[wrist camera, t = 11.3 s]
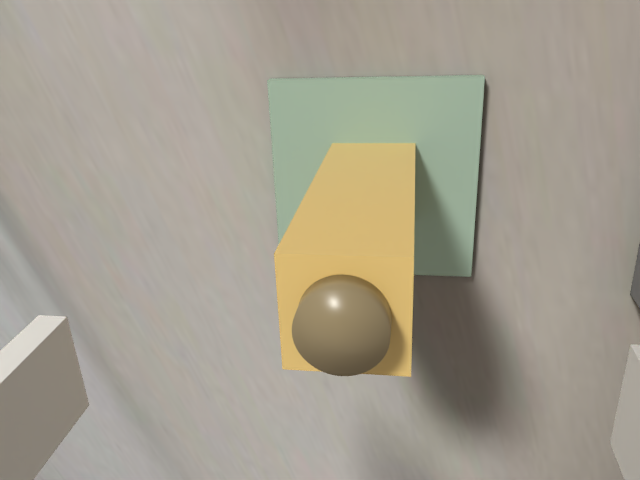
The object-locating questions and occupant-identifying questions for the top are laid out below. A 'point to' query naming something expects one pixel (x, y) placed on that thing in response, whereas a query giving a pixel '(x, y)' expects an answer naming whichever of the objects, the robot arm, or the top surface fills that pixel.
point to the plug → (351, 265)
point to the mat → (388, 127)
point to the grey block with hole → (636, 281)
